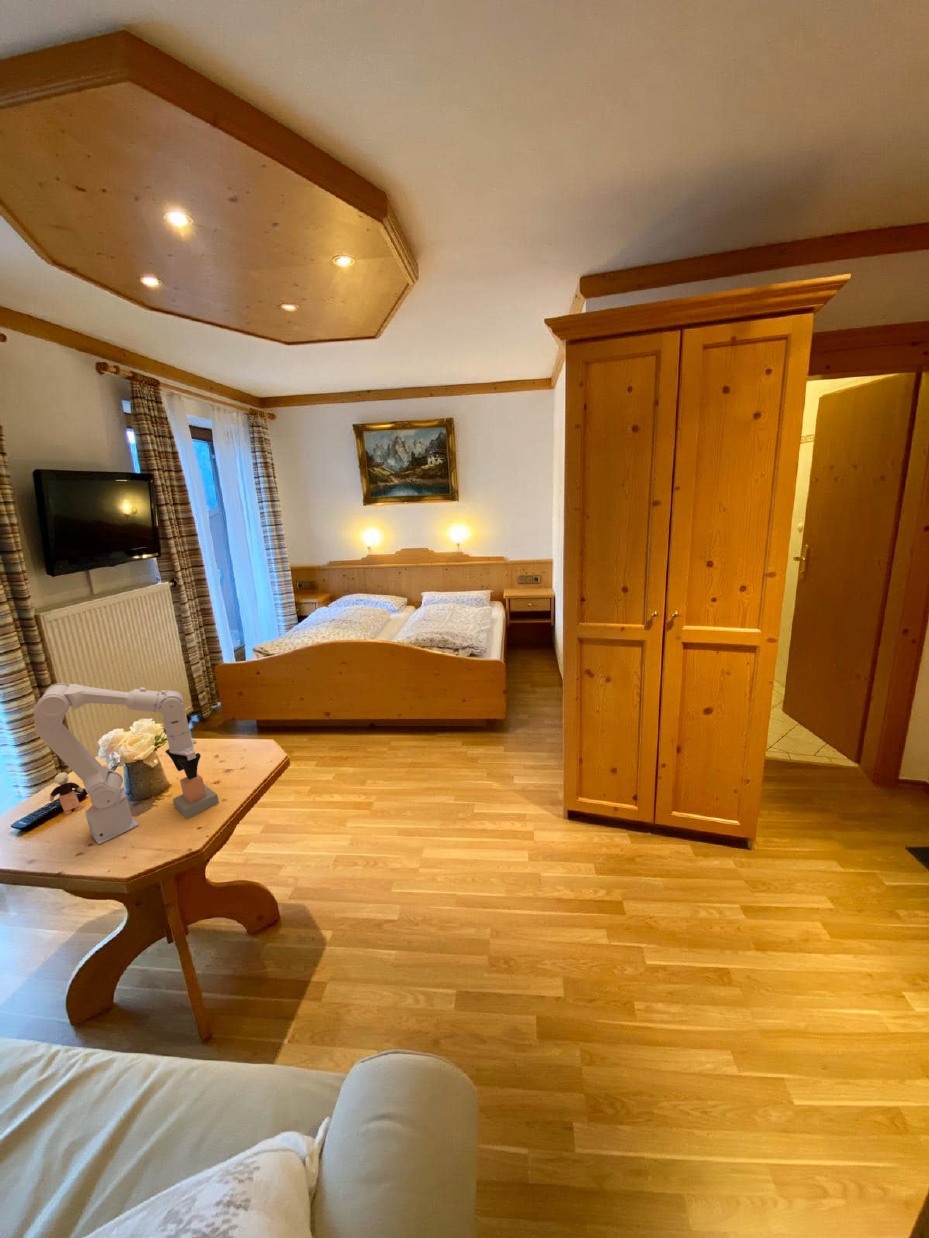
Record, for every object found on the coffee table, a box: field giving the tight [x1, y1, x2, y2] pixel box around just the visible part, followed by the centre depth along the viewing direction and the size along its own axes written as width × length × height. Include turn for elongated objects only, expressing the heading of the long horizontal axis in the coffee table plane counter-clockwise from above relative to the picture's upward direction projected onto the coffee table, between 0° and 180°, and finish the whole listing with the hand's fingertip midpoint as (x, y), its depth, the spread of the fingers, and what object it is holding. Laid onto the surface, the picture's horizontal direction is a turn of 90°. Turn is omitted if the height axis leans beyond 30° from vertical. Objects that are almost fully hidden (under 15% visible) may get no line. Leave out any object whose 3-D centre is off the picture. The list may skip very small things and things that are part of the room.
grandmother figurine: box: [49, 771, 84, 815], centre depth 141 cm, size 8×4×13 cm, turn 141°
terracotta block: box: [179, 773, 206, 803], centre depth 141 cm, size 4×4×6 cm
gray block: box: [172, 784, 220, 820], centre depth 142 cm, size 9×9×3 cm
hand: (187, 773), depth 140 cm, fingers open, 7 cm apart
